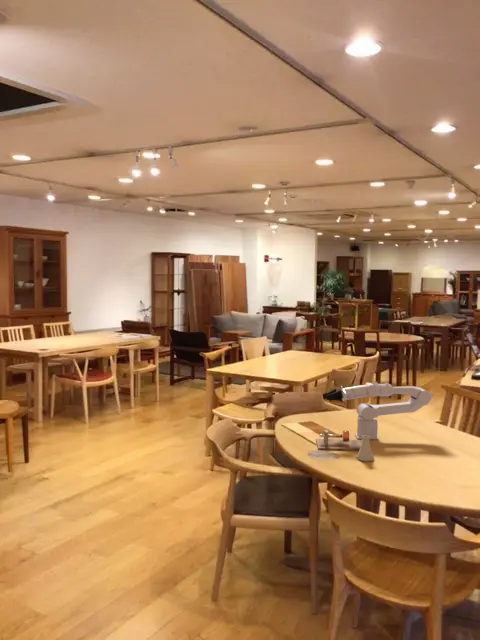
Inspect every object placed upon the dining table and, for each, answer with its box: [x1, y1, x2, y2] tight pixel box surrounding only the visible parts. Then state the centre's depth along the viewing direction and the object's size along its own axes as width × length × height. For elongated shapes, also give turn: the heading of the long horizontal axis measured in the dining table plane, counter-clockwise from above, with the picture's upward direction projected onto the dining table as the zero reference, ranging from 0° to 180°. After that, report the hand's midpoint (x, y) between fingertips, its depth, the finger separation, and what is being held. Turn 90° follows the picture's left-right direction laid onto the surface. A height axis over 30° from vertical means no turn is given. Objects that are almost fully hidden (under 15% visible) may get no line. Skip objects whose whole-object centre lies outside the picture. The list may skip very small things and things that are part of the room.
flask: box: [355, 435, 375, 462], centre depth 247 cm, size 7×7×10 cm
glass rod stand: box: [318, 430, 350, 442], centre depth 265 cm, size 13×5×5 cm, turn 87°
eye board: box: [315, 429, 363, 452], centre depth 265 cm, size 22×14×7 cm, turn 87°
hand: (324, 397), depth 276 cm, fingers open, 7 cm apart
